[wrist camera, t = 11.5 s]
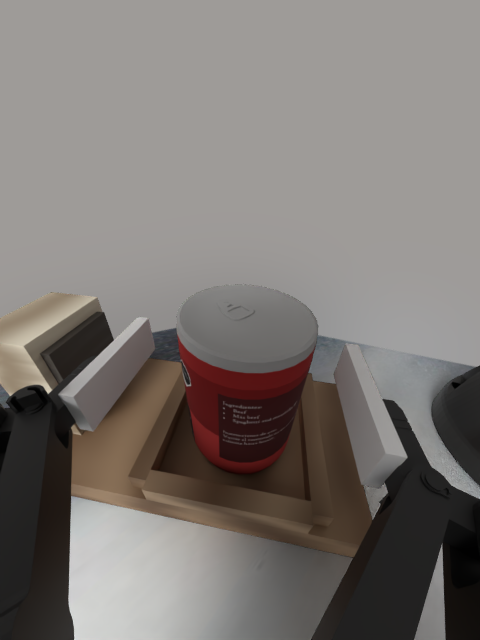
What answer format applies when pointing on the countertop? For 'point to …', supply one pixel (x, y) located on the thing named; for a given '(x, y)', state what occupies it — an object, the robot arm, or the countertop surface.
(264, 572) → the countertop surface
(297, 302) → the canned food
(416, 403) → the countertop surface
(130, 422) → the wooden tray stand
